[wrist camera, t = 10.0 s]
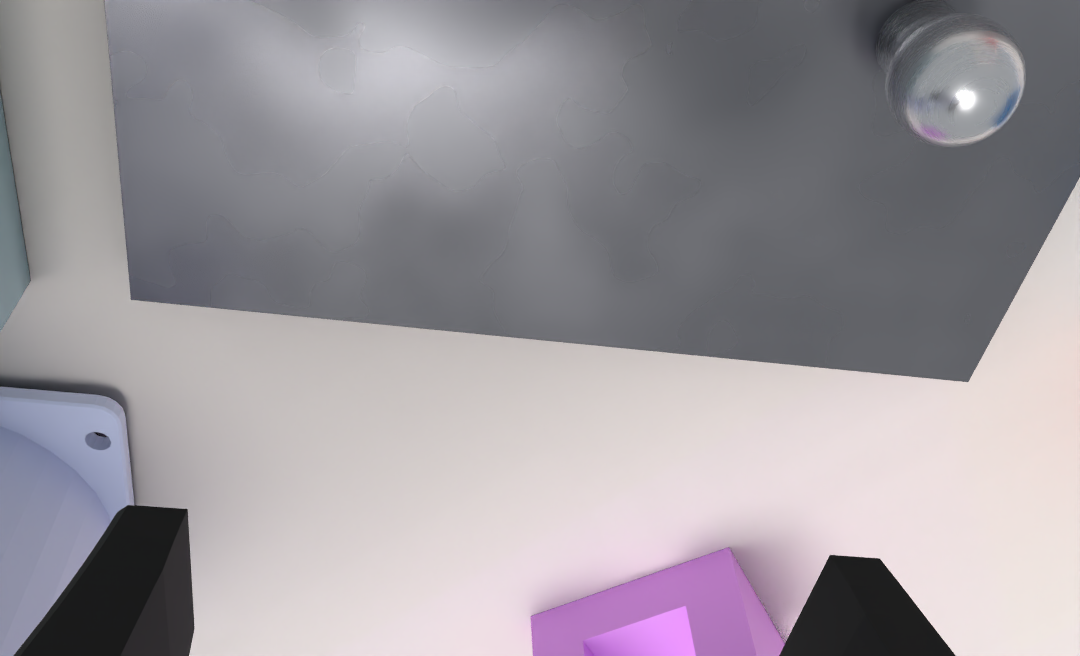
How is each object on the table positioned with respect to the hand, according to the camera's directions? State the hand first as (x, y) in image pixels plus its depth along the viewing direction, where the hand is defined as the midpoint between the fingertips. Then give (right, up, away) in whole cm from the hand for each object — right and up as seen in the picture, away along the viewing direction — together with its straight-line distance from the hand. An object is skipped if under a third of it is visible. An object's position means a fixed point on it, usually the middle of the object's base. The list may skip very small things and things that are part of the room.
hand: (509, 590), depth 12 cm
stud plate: (+2, +9, +5) cm, 10 cm away
